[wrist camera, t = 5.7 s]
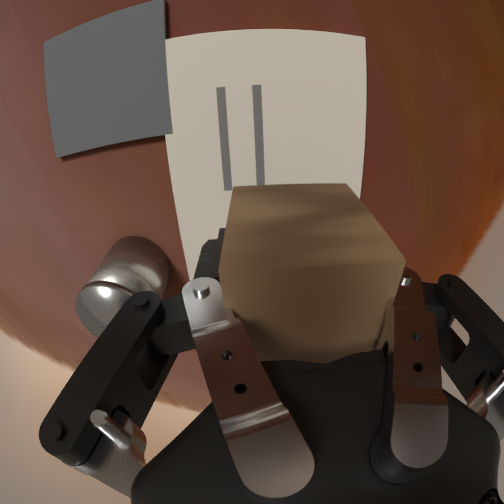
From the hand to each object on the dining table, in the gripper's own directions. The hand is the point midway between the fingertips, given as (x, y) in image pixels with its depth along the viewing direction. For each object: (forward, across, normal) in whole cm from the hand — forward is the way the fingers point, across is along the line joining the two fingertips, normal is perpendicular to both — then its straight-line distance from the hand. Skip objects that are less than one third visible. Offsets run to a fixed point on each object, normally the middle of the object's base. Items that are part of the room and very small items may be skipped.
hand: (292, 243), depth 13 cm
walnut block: (+1, 0, 0) cm, 1 cm away
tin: (+6, +11, +5) cm, 13 cm away
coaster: (+6, +11, -9) cm, 15 cm away
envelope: (+6, +1, -2) cm, 6 cm away
